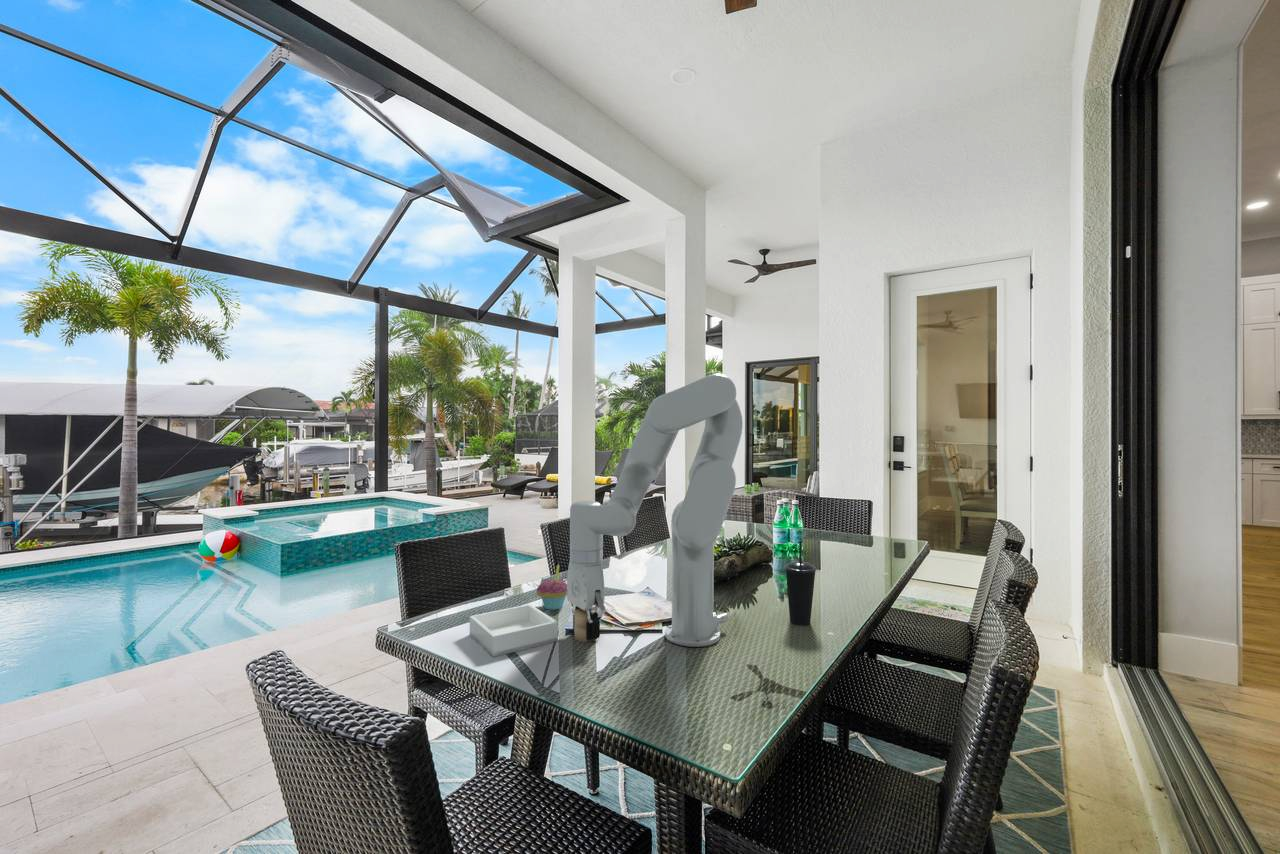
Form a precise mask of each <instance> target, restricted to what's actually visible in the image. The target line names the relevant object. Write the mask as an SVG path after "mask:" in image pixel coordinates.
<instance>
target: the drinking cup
mask: <svg viewBox="0 0 1280 854" xmlns="http://www.w3.org/2000/svg"><path fill="white" fill-rule="evenodd" d="M783 567H784V569H785V577H786V579H785V580H786V589H787V591H786V592H787V599H788V601H787V602H788V612H789V614H788V615H789V622H790V623H791V624H793V625H797V626H808V625H810V624H811V620H812V609H813V599H814V588H815V577H816V572H817V567H816V566H815V565H813V564H811V563H809V562H806V561H803V541H802V540H799V541H798V560H797V561H792V562H789V563H787V564H784V566H783Z"/></svg>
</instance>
